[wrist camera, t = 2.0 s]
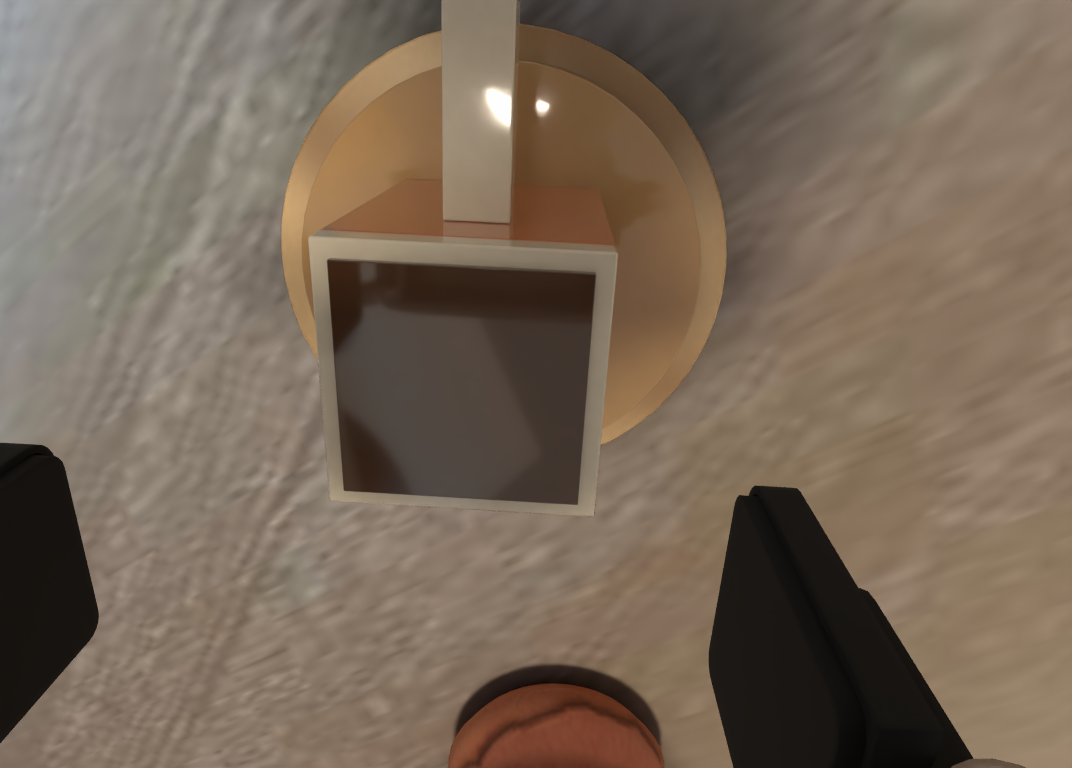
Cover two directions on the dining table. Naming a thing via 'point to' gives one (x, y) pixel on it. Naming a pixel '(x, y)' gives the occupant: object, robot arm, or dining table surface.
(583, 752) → the potted flower
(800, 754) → the robot arm
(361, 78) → the turntable base
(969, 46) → the dining table surface
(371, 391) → the orange block with handle
